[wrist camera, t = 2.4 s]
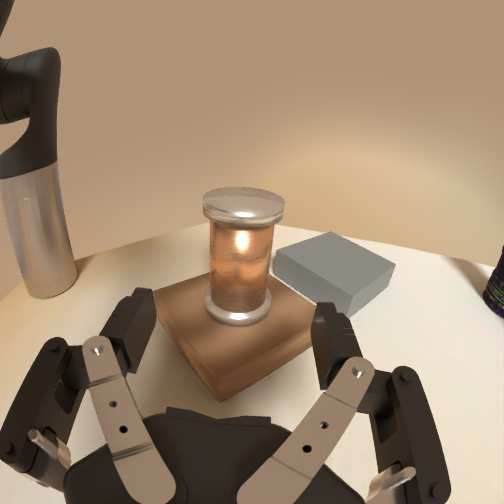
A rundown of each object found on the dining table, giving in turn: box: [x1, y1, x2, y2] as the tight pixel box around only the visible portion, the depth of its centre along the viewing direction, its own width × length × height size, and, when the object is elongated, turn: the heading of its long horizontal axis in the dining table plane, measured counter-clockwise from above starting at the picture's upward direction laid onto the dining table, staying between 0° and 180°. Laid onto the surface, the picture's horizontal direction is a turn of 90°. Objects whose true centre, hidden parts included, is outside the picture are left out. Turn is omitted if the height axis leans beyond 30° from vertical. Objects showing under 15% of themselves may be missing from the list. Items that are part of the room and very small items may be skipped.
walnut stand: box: [153, 272, 316, 402], centre depth 28 cm, size 13×13×4 cm
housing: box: [203, 187, 285, 327], centre depth 24 cm, size 7×7×11 cm
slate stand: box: [274, 232, 396, 319], centre depth 38 cm, size 13×13×4 cm
